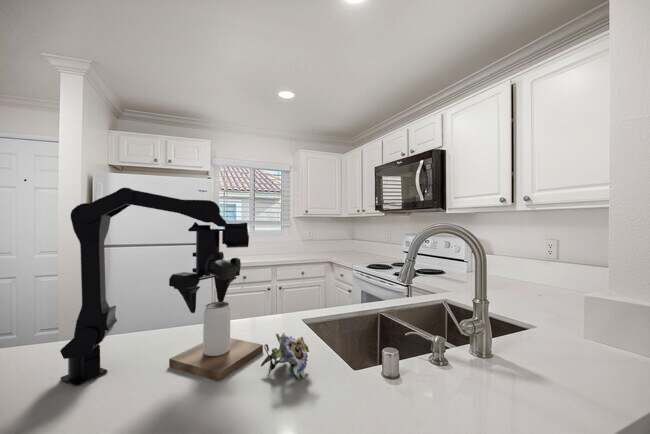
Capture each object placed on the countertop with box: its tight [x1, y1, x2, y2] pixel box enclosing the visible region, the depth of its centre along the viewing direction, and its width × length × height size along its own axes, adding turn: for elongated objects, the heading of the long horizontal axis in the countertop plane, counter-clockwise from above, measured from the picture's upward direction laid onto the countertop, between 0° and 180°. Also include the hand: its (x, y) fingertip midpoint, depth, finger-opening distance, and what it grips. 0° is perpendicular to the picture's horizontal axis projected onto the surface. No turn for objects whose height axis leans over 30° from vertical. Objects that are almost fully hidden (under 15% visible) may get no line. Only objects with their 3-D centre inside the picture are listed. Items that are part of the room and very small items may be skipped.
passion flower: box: [260, 332, 310, 381], centre depth 68 cm, size 11×11×12 cm
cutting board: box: [168, 337, 264, 382], centre depth 76 cm, size 16×16×2 cm
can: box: [202, 301, 231, 357], centre depth 76 cm, size 6×6×12 cm
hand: (207, 307), depth 78 cm, fingers open, 9 cm apart
